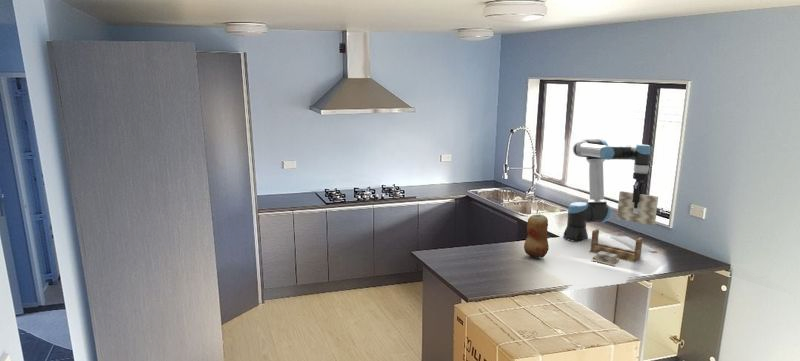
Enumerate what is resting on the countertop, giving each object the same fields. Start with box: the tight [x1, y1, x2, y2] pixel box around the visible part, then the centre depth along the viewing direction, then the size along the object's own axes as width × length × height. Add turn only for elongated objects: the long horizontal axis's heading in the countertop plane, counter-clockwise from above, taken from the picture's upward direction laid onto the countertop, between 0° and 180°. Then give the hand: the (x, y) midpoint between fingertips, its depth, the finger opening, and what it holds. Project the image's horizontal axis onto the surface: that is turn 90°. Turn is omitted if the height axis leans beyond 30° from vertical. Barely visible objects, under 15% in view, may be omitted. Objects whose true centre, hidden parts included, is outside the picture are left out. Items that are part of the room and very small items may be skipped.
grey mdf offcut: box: [596, 251, 618, 261], centre depth 284 cm, size 9×6×2 cm, turn 49°
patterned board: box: [616, 190, 659, 226], centre depth 288 cm, size 20×2×16 cm, turn 47°
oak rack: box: [588, 228, 643, 263], centre depth 293 cm, size 26×12×14 cm, turn 48°
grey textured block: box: [592, 254, 620, 268], centre depth 284 cm, size 12×7×3 cm, turn 48°
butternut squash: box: [523, 213, 550, 260], centre depth 287 cm, size 14×13×25 cm
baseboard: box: [610, 234, 658, 253], centre depth 319 cm, size 31×3×12 cm
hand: (636, 213), depth 289 cm, fingers closed on patterned board, 2 cm apart
